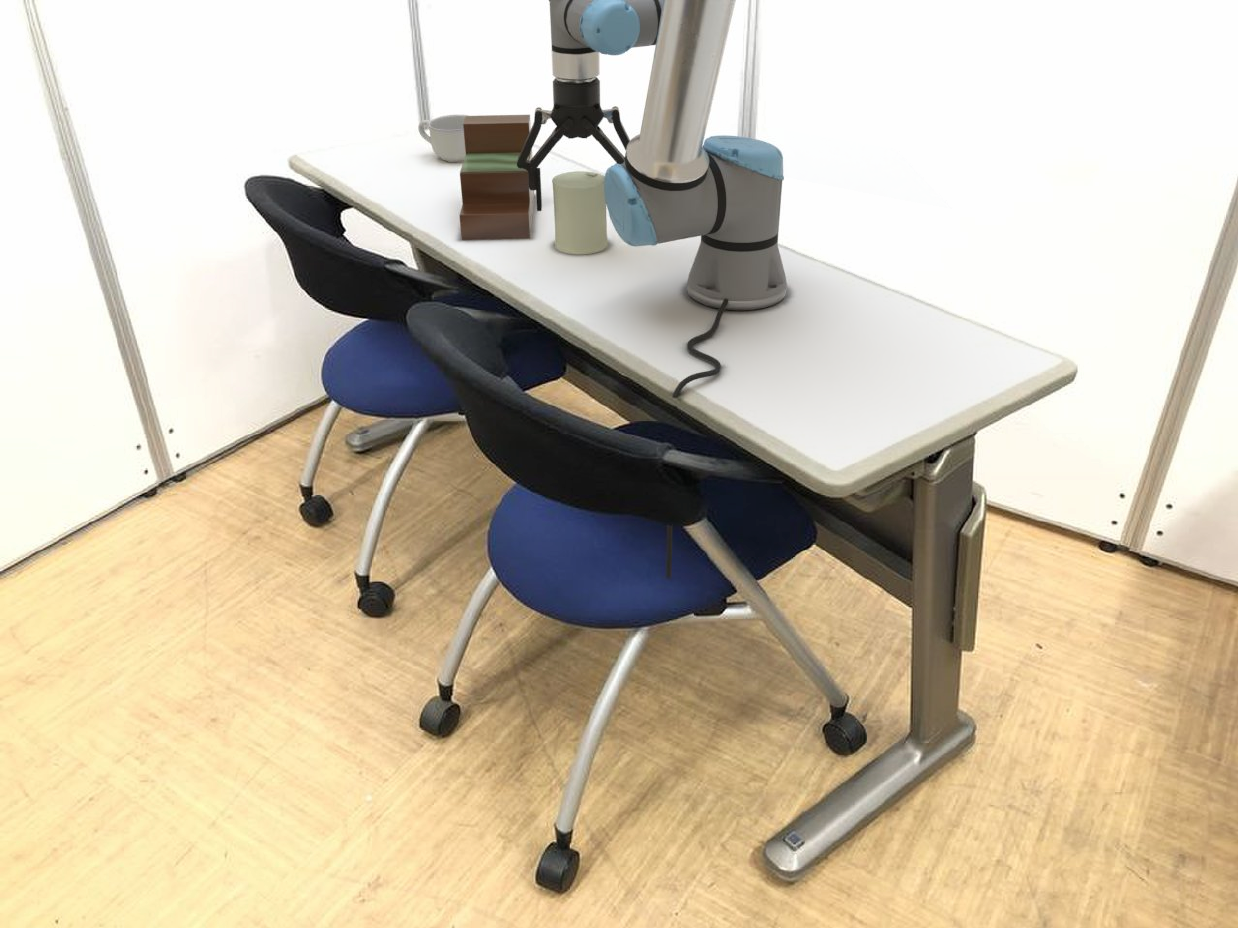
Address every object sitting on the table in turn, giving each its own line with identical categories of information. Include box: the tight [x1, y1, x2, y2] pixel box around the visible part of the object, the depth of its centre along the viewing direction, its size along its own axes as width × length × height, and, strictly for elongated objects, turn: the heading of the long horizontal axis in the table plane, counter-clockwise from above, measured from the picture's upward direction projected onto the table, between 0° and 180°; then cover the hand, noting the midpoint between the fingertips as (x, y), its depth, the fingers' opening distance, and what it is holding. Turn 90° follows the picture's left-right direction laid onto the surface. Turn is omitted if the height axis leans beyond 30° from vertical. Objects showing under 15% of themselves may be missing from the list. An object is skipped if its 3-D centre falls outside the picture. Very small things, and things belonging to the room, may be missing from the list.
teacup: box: [418, 114, 470, 163], centre depth 225 cm, size 14×11×8 cm
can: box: [551, 170, 609, 256], centre depth 178 cm, size 9×9×12 cm
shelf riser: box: [459, 114, 536, 241], centre depth 190 cm, size 24×12×16 cm, turn 2°
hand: (579, 208), depth 178 cm, fingers open, 13 cm apart
